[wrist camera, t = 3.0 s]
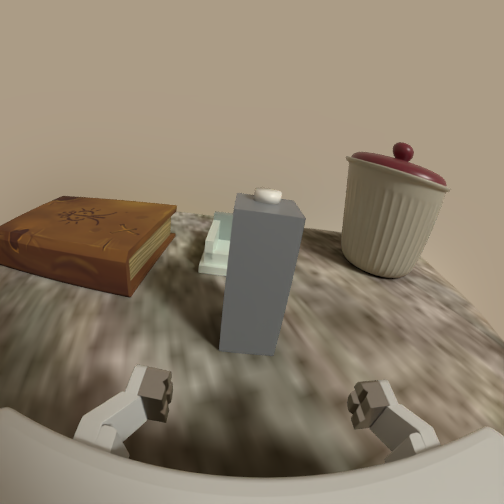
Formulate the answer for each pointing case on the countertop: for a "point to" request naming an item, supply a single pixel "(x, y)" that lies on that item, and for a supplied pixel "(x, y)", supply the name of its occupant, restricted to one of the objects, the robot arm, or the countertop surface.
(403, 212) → the canister
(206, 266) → the pocket
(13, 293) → the countertop surface
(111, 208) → the diary
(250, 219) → the grey block with knob
